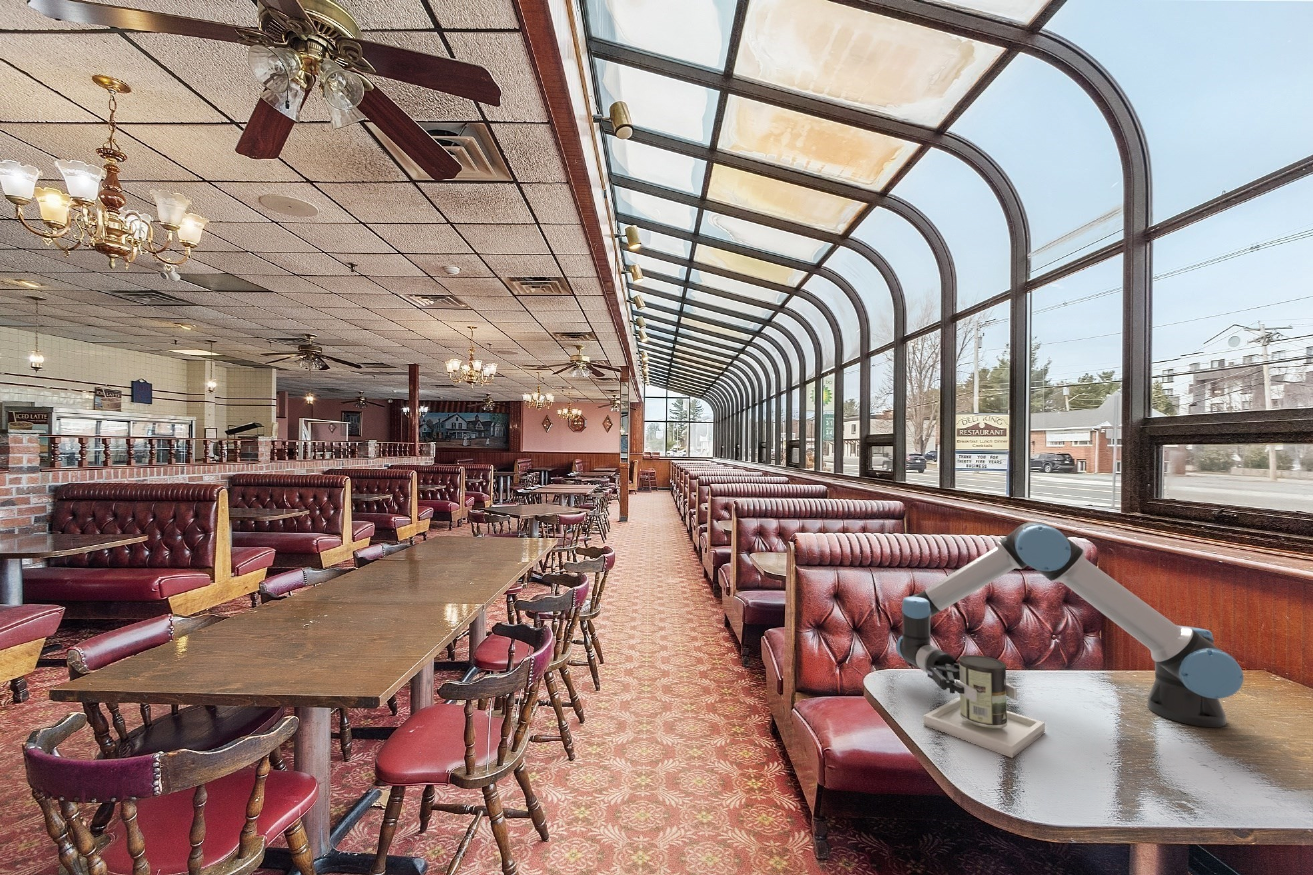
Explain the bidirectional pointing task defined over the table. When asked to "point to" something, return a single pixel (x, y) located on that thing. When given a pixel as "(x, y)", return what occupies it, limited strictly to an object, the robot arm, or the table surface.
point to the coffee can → (984, 691)
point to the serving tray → (986, 729)
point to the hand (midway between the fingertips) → (995, 694)
